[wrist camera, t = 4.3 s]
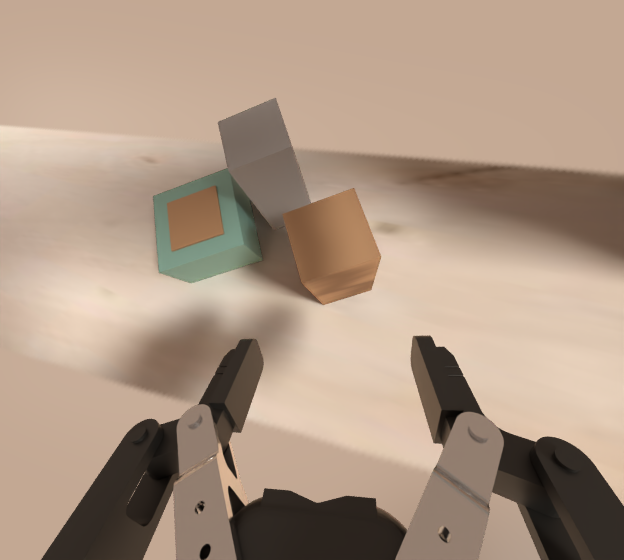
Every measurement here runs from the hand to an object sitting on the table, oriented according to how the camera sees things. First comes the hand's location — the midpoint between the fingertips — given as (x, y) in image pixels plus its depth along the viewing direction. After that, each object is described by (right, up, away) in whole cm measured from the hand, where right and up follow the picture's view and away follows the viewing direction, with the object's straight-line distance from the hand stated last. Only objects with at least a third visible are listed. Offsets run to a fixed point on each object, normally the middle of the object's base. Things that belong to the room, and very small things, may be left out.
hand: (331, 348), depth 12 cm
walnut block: (+2, +4, +12) cm, 13 cm away
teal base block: (-12, +9, +16) cm, 22 cm away
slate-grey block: (-4, +12, +15) cm, 20 cm away
